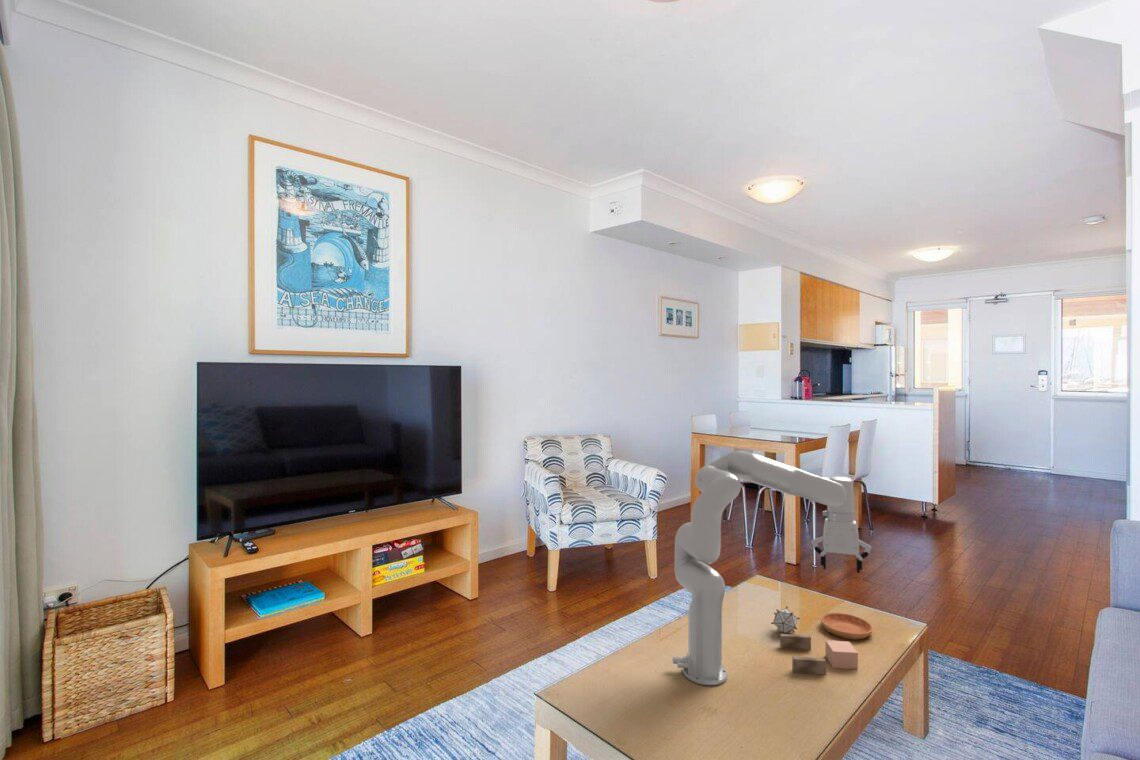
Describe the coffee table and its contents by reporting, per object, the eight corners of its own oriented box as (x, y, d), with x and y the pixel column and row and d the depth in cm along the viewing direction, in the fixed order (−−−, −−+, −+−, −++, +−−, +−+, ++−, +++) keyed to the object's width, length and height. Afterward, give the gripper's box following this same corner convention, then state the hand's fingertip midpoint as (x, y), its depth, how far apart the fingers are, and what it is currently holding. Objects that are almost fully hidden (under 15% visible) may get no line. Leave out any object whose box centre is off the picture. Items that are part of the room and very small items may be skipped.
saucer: (861, 621, 198) (861, 613, 198) (881, 643, 182) (881, 634, 182) (814, 619, 200) (814, 611, 200) (830, 641, 184) (830, 632, 184)
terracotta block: (833, 667, 167) (833, 651, 167) (825, 656, 174) (825, 640, 174) (857, 669, 167) (857, 652, 166) (849, 657, 174) (849, 641, 173)
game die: (791, 645, 189) (806, 628, 183) (767, 636, 189) (782, 619, 183) (788, 622, 196) (802, 605, 191) (765, 613, 196) (779, 596, 191)
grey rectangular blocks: (793, 672, 165) (793, 659, 165) (780, 646, 180) (780, 633, 180) (825, 674, 163) (825, 661, 163) (809, 647, 179) (809, 635, 179)
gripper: (810, 516, 177) (811, 570, 178) (872, 521, 170) (872, 577, 171) (811, 511, 184) (811, 562, 185) (870, 515, 177) (871, 569, 177)
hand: (841, 569), depth 178 cm, fingers open, 9 cm apart
